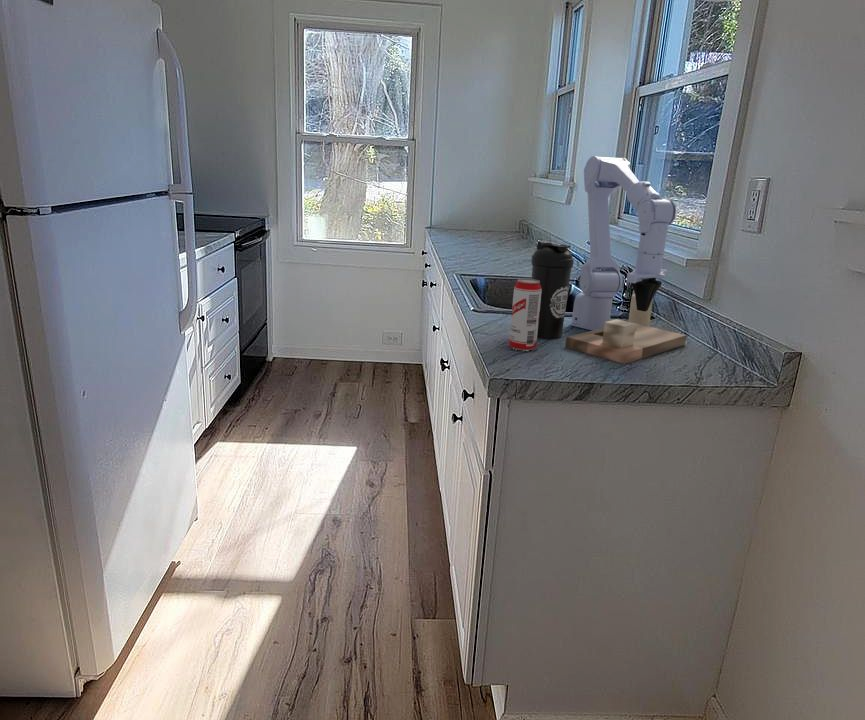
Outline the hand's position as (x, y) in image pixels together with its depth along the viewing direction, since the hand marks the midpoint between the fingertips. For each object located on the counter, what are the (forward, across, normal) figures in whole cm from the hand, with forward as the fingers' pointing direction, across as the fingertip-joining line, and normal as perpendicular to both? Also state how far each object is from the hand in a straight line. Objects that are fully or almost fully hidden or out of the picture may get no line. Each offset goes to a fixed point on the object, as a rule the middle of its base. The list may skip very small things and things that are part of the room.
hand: (642, 310), depth 154 cm
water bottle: (+10, -9, +21) cm, 25 cm away
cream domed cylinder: (+10, +21, +12) cm, 26 cm away
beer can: (+10, -24, +15) cm, 30 cm away
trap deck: (+9, 0, +3) cm, 10 cm away
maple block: (+7, -9, 0) cm, 11 cm away
